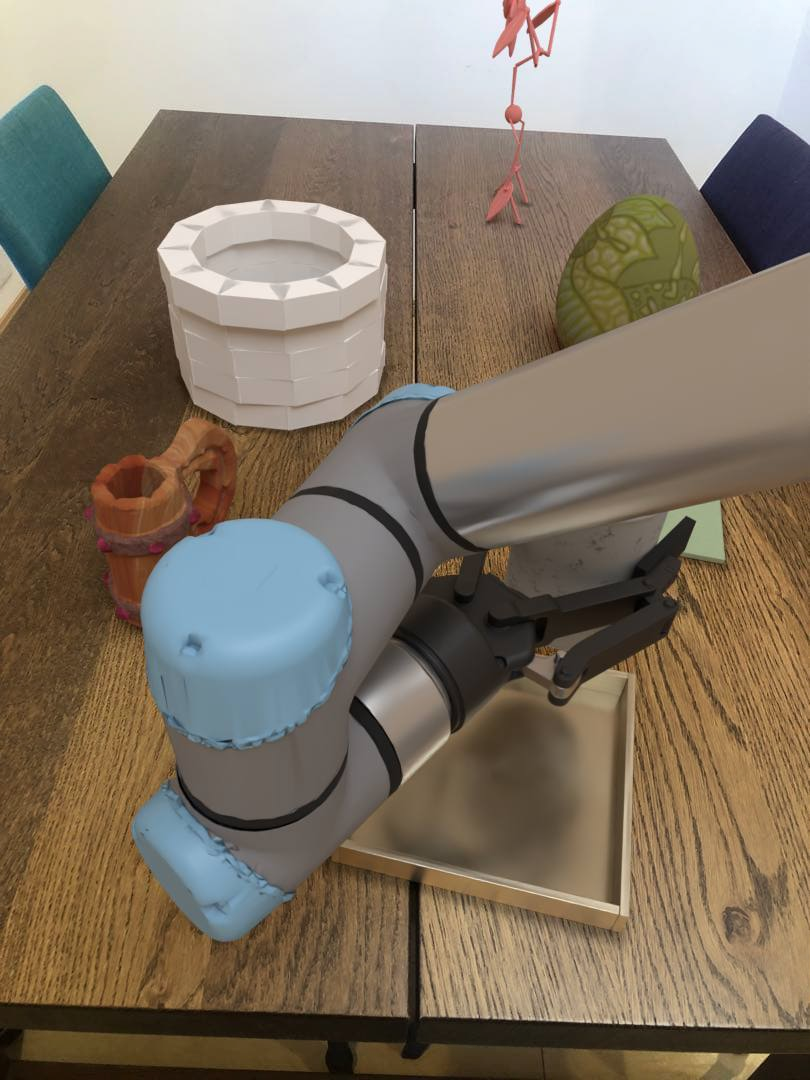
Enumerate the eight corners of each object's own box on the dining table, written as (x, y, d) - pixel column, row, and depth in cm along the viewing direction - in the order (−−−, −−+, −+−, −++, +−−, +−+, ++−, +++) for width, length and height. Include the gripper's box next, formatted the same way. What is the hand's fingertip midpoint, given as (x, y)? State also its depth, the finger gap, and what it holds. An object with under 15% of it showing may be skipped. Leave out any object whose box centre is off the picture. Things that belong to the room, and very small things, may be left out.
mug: (161, 662, 66) (126, 525, 55) (88, 619, 69) (42, 481, 58) (274, 556, 75) (263, 422, 65) (207, 522, 78) (185, 388, 67)
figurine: (538, 186, 144) (577, -57, 120) (517, 245, 126) (558, -27, 102) (454, 174, 147) (475, -67, 123) (421, 230, 128) (438, -39, 104)
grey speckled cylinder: (497, 642, 57) (523, 509, 48) (503, 547, 64) (527, 416, 55) (636, 660, 56) (687, 529, 48) (627, 563, 63) (670, 433, 54)
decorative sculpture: (522, 338, 106) (548, 180, 92) (622, 314, 112) (660, 162, 98) (598, 405, 96) (640, 238, 82) (704, 375, 101) (760, 214, 88)
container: (372, 444, 88) (376, 307, 77) (155, 428, 88) (128, 288, 77) (390, 328, 106) (395, 203, 95) (210, 314, 106) (194, 188, 95)
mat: (715, 474, 87) (717, 469, 87) (723, 564, 77) (725, 559, 77) (584, 451, 89) (585, 446, 88) (575, 536, 79) (576, 532, 79)
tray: (628, 692, 66) (636, 673, 64) (620, 933, 52) (629, 916, 50) (303, 624, 69) (301, 604, 68) (215, 832, 56) (210, 813, 54)
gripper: (275, 621, 52) (489, 468, 65) (560, 851, 42) (749, 617, 55) (266, 536, 47) (501, 388, 60) (589, 775, 37) (791, 536, 49)
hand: (619, 497), depth 57 cm, fingers closed on grey speckled cylinder, 9 cm apart
